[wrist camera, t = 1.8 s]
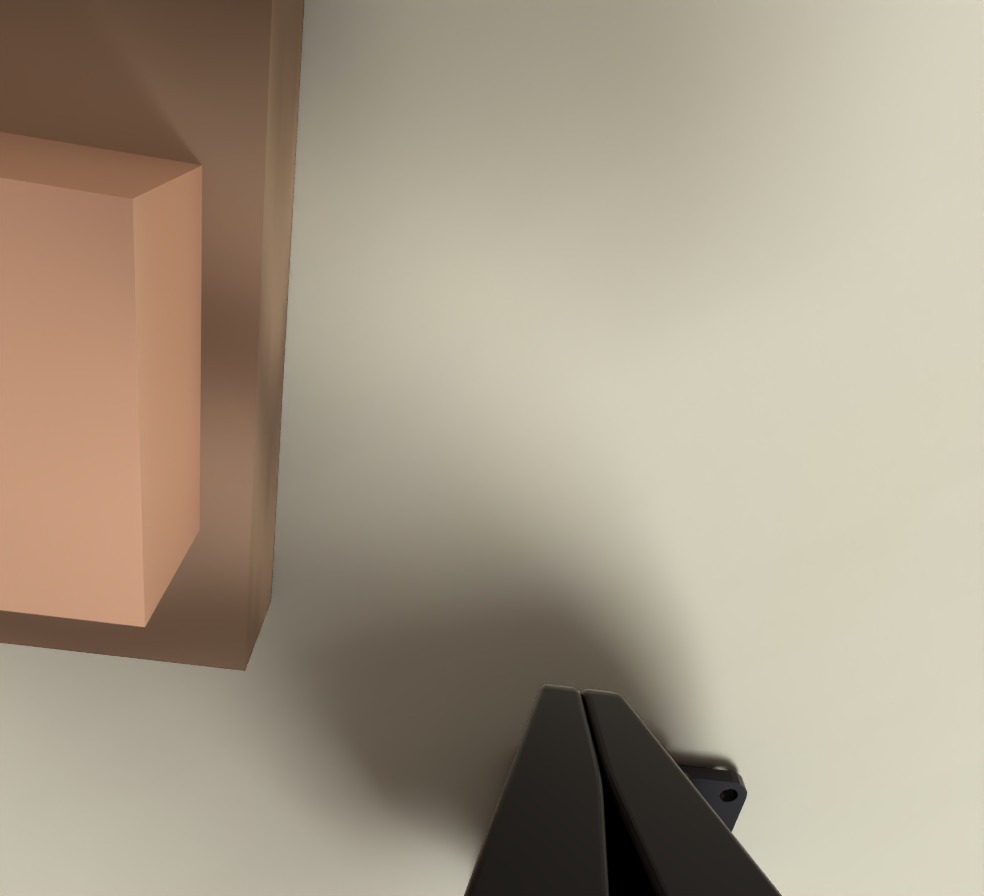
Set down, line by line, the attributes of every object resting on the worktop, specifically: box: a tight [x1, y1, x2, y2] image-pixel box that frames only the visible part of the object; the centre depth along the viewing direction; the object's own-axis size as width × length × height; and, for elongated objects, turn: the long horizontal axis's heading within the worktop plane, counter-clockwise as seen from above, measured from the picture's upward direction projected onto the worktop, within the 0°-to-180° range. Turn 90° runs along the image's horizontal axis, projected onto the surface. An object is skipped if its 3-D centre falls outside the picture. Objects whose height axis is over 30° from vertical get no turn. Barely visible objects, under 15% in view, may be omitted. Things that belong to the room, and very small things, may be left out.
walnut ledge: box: [0, 0, 304, 671], centre depth 16 cm, size 14×10×2 cm
